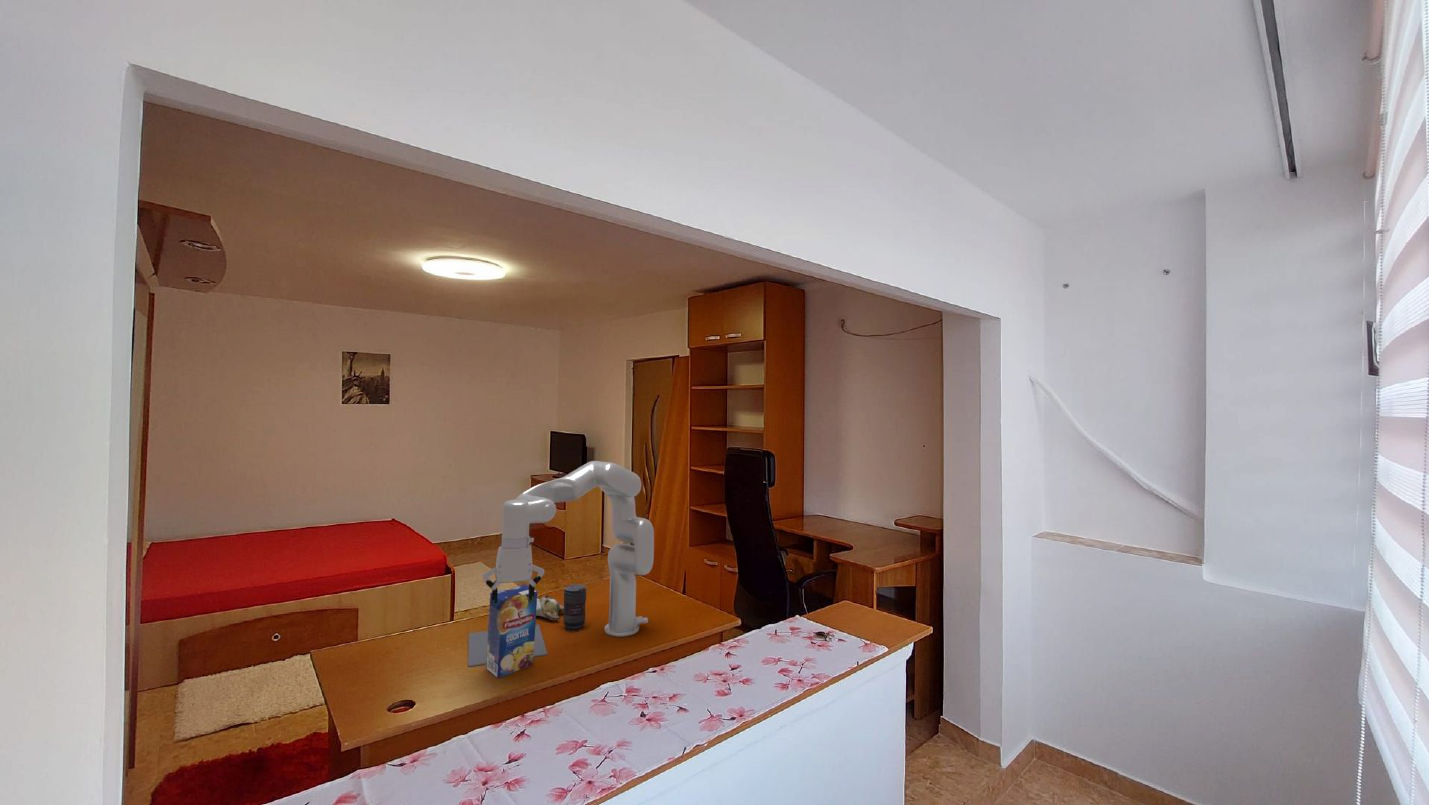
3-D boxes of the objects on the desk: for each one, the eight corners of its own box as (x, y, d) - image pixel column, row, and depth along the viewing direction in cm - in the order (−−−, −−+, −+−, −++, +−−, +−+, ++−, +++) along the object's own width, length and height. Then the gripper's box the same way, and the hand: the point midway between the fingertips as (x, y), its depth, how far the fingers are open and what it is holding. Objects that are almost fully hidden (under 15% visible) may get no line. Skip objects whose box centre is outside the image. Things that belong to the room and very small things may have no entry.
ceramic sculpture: (537, 588, 225) (572, 594, 222) (535, 609, 225) (570, 615, 223) (523, 597, 214) (560, 603, 212) (522, 620, 215) (558, 626, 212)
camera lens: (589, 625, 212) (590, 585, 212) (577, 633, 204) (578, 592, 204) (571, 622, 214) (572, 582, 214) (558, 630, 207) (559, 589, 207)
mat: (538, 625, 211) (538, 624, 211) (547, 655, 187) (547, 654, 187) (468, 634, 201) (468, 633, 201) (468, 667, 177) (468, 665, 177)
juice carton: (497, 678, 171) (502, 600, 170) (485, 668, 176) (490, 593, 174) (533, 664, 180) (537, 591, 179) (520, 655, 185) (525, 584, 183)
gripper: (544, 537, 173) (542, 593, 173) (483, 541, 166) (481, 599, 166) (547, 543, 166) (545, 601, 166) (483, 547, 159) (481, 608, 159)
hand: (513, 600), depth 166 cm, fingers open, 9 cm apart
